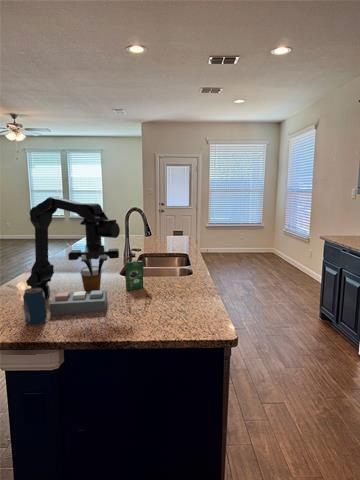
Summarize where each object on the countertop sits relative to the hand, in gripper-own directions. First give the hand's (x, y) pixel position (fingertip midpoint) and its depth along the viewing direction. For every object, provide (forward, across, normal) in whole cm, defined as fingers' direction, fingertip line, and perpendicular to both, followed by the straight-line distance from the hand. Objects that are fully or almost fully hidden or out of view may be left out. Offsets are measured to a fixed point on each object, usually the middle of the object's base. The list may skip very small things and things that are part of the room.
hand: (95, 275), depth 124 cm
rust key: (+11, -13, 0) cm, 17 cm away
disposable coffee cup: (+13, -4, +15) cm, 20 cm away
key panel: (+13, -6, 0) cm, 15 cm away
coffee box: (+13, +16, +20) cm, 29 cm away
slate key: (+11, 0, 0) cm, 11 cm away
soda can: (+13, -20, -11) cm, 27 cm away
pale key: (+11, -6, 0) cm, 13 cm away
